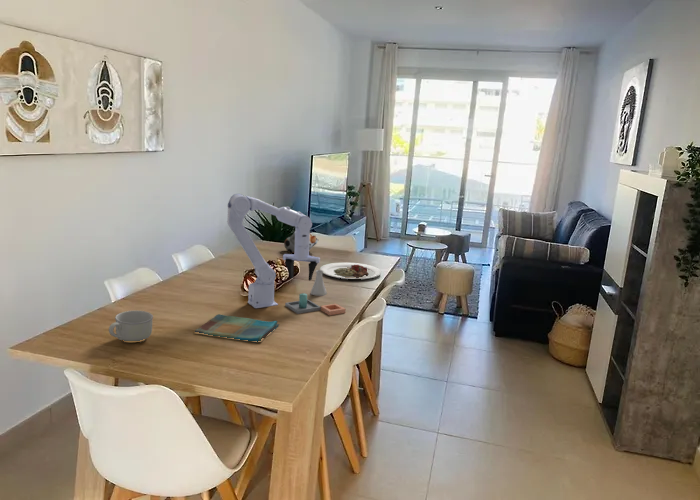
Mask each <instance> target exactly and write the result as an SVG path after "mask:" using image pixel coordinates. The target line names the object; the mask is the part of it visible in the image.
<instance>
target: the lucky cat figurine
mask: <svg viewBox="0 0 700 500" xmlns="http://www.w3.org/2000/svg"><path fill="white" fill-rule="evenodd" d="M318 242H319V238H318V237H317V236H316V235H313V234H312V233H310V241H309V251H310V250H312V248H314V247H315V246H316V245H317V244H318ZM283 244H284V245H283V246H284V248H285V250H286V251H287V252H289V253H291V254H292V253H294V250H295V231H294V232H293V234H292V235H290V236H289V237H286V239H285V240H284V242H283Z"/></svg>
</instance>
